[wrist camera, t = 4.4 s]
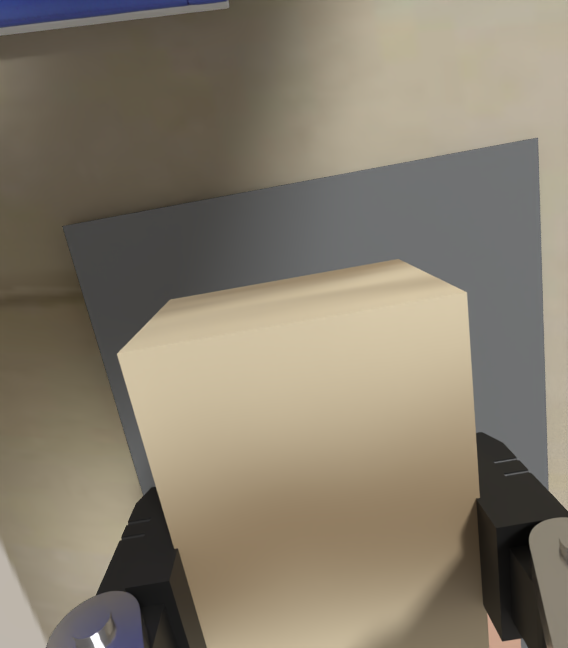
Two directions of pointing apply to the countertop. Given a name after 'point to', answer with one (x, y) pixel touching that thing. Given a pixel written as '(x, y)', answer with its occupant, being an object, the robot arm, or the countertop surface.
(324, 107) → the countertop surface
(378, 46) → the countertop surface
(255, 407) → the beige rectangular block
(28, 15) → the hard drive
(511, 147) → the rubber mat
